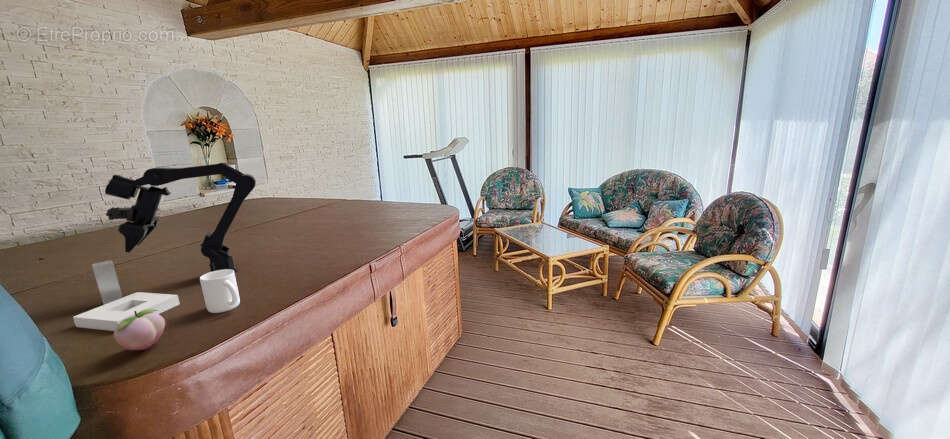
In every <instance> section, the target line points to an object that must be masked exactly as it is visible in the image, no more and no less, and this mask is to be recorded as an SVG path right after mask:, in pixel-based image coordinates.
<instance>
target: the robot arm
mask: <svg viewBox="0 0 950 439" xmlns="http://www.w3.org/2000/svg"><path fill="white" fill-rule="evenodd" d="M216 175H218V176H219V175H221V176H224V178H226V179H228V180H229V181H231V182H232V183H234V184H235V186H234V189H233V190H234V191H233V193H232V197H231V199H230V201H229V203H228V204H227V207H226V209H225V210H224V212H223V214H222V216H221V218H220V220H219V222H218V223H217V225H216V227H215V229H214V230H213V231H212V232H209V231H207V232H206V234H205V236H204V239H203V240H202V241H201V243H200V244H199V246H200V247H201V248H200V252H201V254H202V255H203V256H204V257H205V258H208V259H209V270H210V272H213V271H217V270H224V269H231V270H234V273H236V272H237V271H238V268H235V263H234V258H233V255H230V252H231V248H230V247H228V246H226V245H224V242H225V238H226V236H227V233H228V230H229V229H230V227H231V225H232V223H233V222H234V220H235V217H236V215H237V213H238V211H239V209H241V207H242V204H243V203H244V201H245V199H246V198H247V197H248V196H249V195H250V194H251V192H252V191H253V190H254V189H255V187H256V183H257V181H256V178H255V177H254V175H252V174H249V173H243V172H242V171H239V170H238V169H236V168H234V167H232V166H230V165H229V164H228V163H226V162H219V163H214V164H212V163H211V164H204V165H202V164H201V165H197V166H195V165H194V166H187V167H167V166H166V167H163V166H162V167H161V166H160V167H159V166H158V167H151V168H148V169H146V170H145V171H144V172H143V175H142V176H141V177H138V178H136V179H132V178H128V177H125V176H122V175H119V174H113V175H112V177H111V179H110V180H109V182H107V184H106V186H105V190H104V193H105V195H107V196H111V197H115V198H119V199H125V200H128V201H129V200H131V198H133V199H135V198H136V197H137V198H136V201H135V204H133V205H131V206H130V207H119V206H117V207H114V206H113V207H111V208H109V209H107V210H106V213H105V216H107V217H108V221H115V220H122V219H123V220H124V219H126V220H125V222H123V223H121V224H119V225H118V226H119V227H118V229H117V231H118V233H119V234H121V235H123V237H124V246H125V247H124V249H125V253H129V254H130V253H131V252H132V251H133V250H134V248H136V246H139V245H140V244H141V243H143V242H144V241H145V239H146V238H148V236H149V235H151V233H152V232H153V231H154V230H155V229H156V228H157V226H159V223H160V219H159V218H158V216H156V214H157V212H159V209H160V202H161V199H162V196H170V195H171V194H172V193H171V191H170V190H169V189H168V187H166V186H165V187H163V188H162V187H160V186H163V185H166V184H170V183H174V182H176V181H180V180H184V179H195V178H203V177H210V176H216ZM146 185H149V187H147V186H146ZM158 186H159V187H158Z"/></svg>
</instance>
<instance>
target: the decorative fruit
mask: <svg viewBox="0 0 950 439" xmlns="http://www.w3.org/2000/svg"><path fill="white" fill-rule="evenodd" d="M153 311H158V310H156V309H146V310H143V311H140V312H138V313H136V311H134V313H135V314H134V315H131V316H129V317H127V318H125V319H123V320H122V321H121V322H120V323H119V324H118V325H117V326H116V328H115V330H114V331H113V338H114V340H115V342H116V343H117V344H118V345H119V346H121V347H122V348H124V349H126V350H129V351H144V350H147V349H149V348H150V347H152V345H154V344H155V343H156V342H157V341H158V340H159V339H160V338H161V336H162V334H163V332H164V330H165V327H166V320H165V318H164V317H163V316H162V315H161V314H157V313H153Z"/></svg>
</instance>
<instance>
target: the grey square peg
mask: <svg viewBox="0 0 950 439" xmlns="http://www.w3.org/2000/svg"><path fill="white" fill-rule="evenodd" d="M91 266H92V271H93V275H94V277H95V280H96V285H97V287H98V290H99V295H100V297H101V298H100V299H101V301H102V303H103V305H105V304H108V303H110V302H113V301H115V300H118V299H121V298H123V297H124V296H123V293H122V289H121V287H120V283H119V279H118V276H117V273H116V269H115V266H114V261H113V260H112V259H110V260H105V261H100V262H95V263H92V264H91Z"/></svg>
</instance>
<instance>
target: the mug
mask: <svg viewBox="0 0 950 439" xmlns="http://www.w3.org/2000/svg"><path fill="white" fill-rule="evenodd" d="M236 279H237V278H236V272H234V270H231V269H224V270H217V271H213V272H211V271H210V272H206V273H204V274H202V275H201V276H200V277H199V282H200V285H201V286H200V287H201V290H202V294H203V298H204V304H205V307H206V309H207V310H206V311H208V312H209V313H210V314H212V313H213V314H219V313H225V312H228V311H231V310H233V309H235V308H237V307H238V306H239V305H240V303H241V300H240V299H241V298H240V294H239V293H240V292H239V288H238V284H237V280H236Z"/></svg>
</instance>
